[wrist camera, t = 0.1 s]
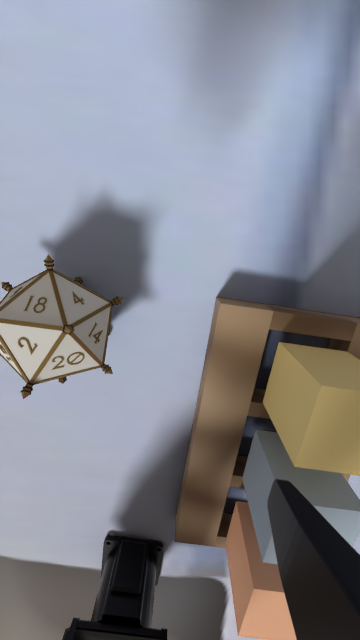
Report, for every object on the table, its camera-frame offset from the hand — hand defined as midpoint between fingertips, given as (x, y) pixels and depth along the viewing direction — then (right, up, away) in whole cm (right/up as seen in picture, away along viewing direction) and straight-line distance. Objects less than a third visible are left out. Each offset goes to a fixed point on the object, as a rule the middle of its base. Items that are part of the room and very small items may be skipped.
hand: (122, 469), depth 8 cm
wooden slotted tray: (+10, -6, +17) cm, 20 cm away
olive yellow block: (+11, 0, +12) cm, 16 cm away
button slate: (+10, -7, +14) cm, 18 cm away
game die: (-7, +5, +14) cm, 16 cm away
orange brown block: (+9, -14, +16) cm, 23 cm away
